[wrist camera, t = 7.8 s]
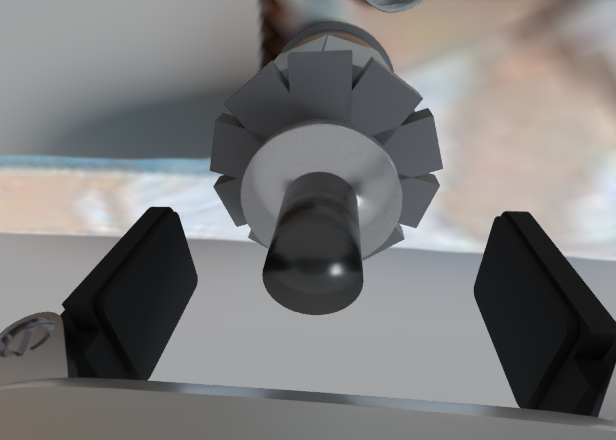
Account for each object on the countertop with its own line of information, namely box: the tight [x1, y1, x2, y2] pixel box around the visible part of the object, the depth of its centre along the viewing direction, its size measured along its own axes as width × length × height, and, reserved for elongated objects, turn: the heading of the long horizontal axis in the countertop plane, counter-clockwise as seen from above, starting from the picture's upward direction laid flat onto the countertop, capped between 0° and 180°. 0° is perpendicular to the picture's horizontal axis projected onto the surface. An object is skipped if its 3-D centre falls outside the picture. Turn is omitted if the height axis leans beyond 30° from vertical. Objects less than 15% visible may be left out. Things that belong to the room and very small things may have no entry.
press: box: [210, 22, 443, 260], centre depth 22 cm, size 10×12×15 cm
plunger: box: [241, 119, 402, 315], centre depth 15 cm, size 6×6×13 cm
